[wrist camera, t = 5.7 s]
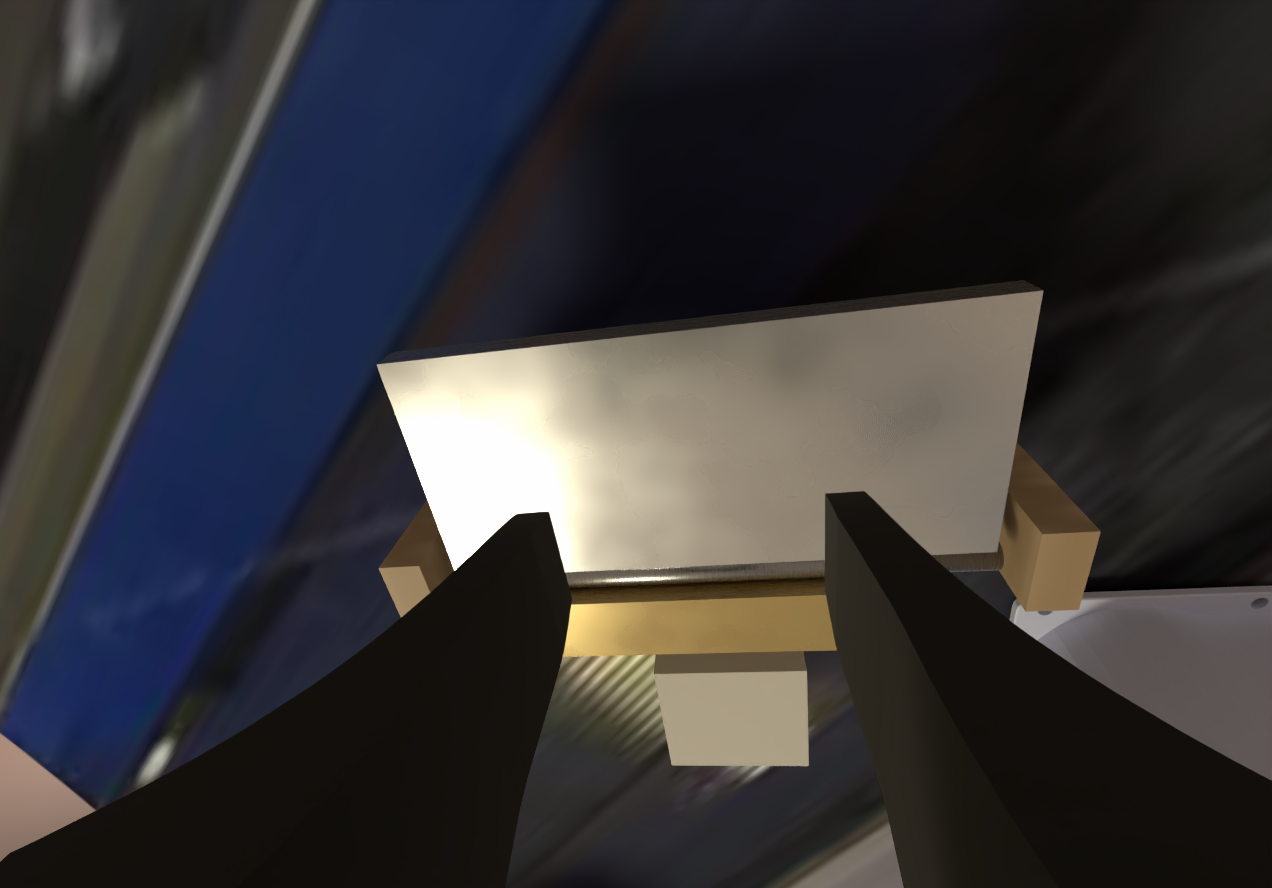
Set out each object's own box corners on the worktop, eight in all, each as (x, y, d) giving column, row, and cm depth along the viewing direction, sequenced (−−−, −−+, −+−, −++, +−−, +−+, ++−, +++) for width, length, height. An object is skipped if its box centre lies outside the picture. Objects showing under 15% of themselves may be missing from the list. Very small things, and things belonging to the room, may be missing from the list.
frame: (980, 394, 19) (1104, 521, 13) (960, 541, 22) (1054, 700, 16) (463, 439, 22) (374, 559, 16) (504, 564, 25) (441, 706, 19)
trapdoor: (1025, 273, 12) (1065, 294, 11) (972, 602, 17) (996, 646, 15) (392, 347, 15) (359, 371, 13) (490, 618, 19) (473, 658, 18)
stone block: (787, 567, 24) (806, 671, 19) (791, 656, 26) (808, 765, 22) (663, 573, 24) (654, 673, 20) (677, 659, 27) (671, 765, 22)
